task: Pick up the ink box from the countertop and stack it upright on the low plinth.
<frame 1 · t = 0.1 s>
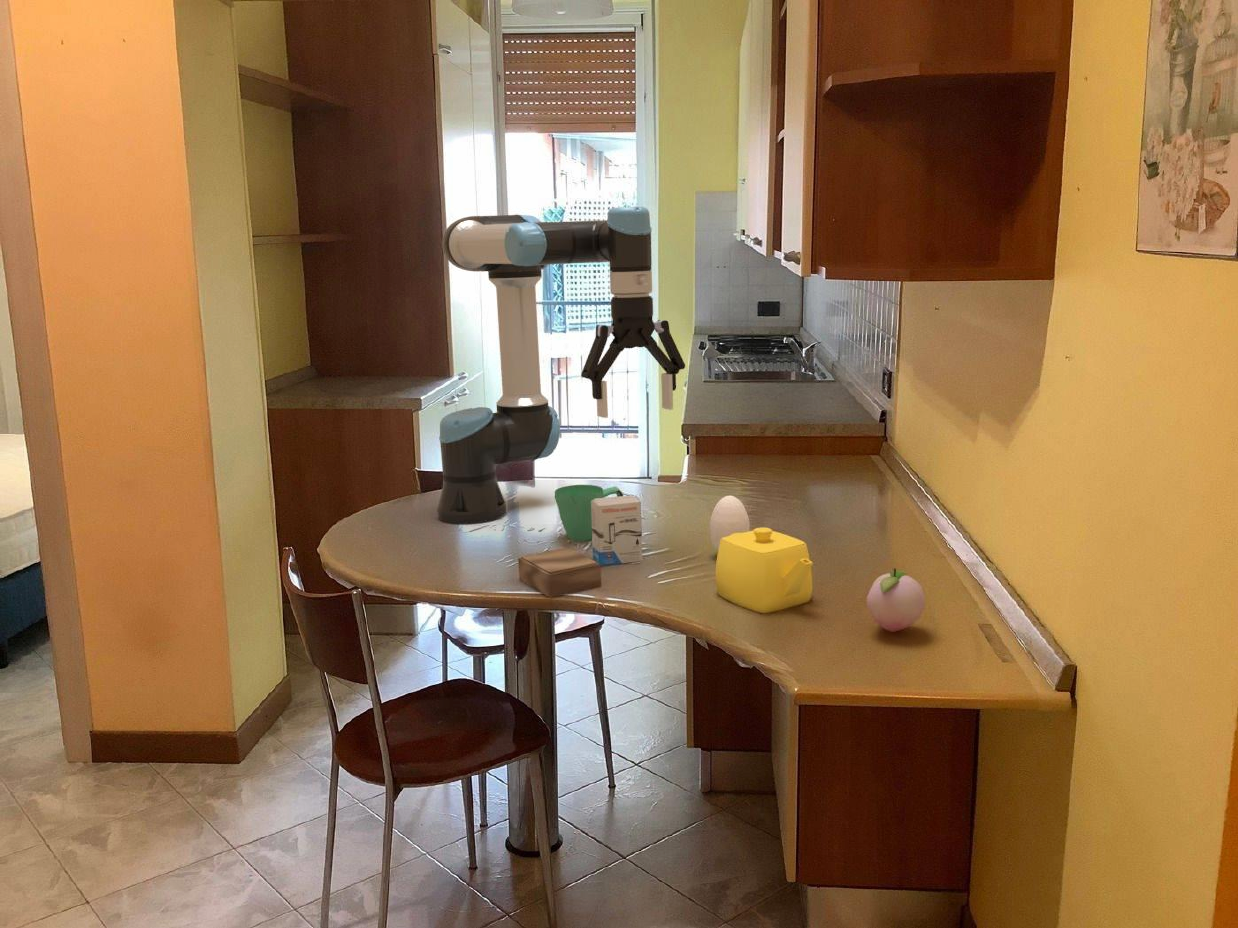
hand: (635, 412, 191), 28 cm above the counter, fingers open, 13 cm apart
teapot: (766, 599, 172), on the counter
mug: (591, 537, 212), on the counter
egg: (730, 557, 195), on the counter
plinth: (559, 582, 184), on the counter
decorative fruit: (895, 633, 156), on the counter
ink box: (617, 561, 196), on the counter
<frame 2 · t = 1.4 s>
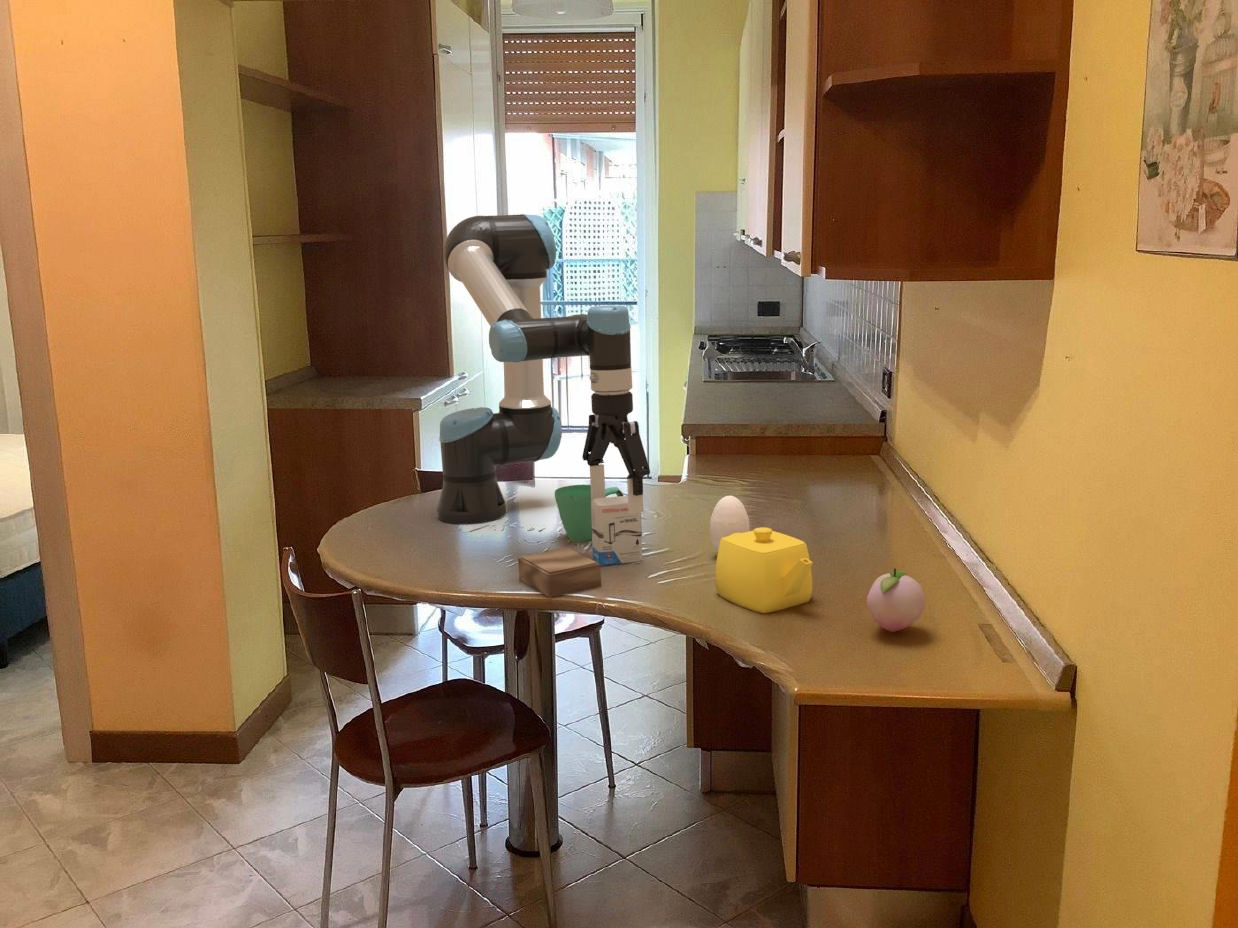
hand: (616, 505, 193), 11 cm above the counter, fingers open, 13 cm apart
nothing on the counter moved.
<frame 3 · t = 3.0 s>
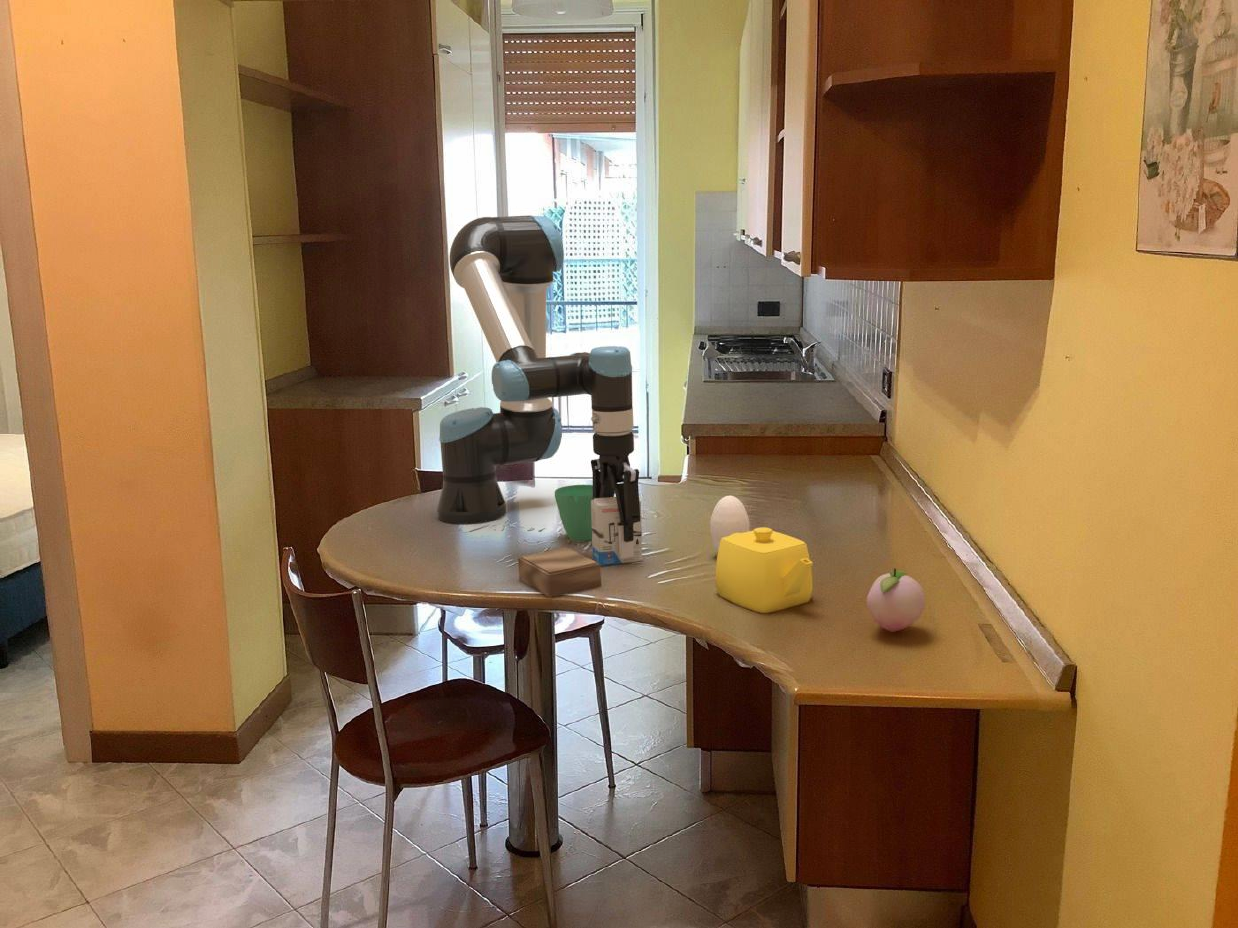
hand: (617, 552, 195), 1 cm above the counter, fingers closed on ink box, 6 cm apart
ink box: (617, 561, 195), on the counter, touching gripper
everything else where it was.
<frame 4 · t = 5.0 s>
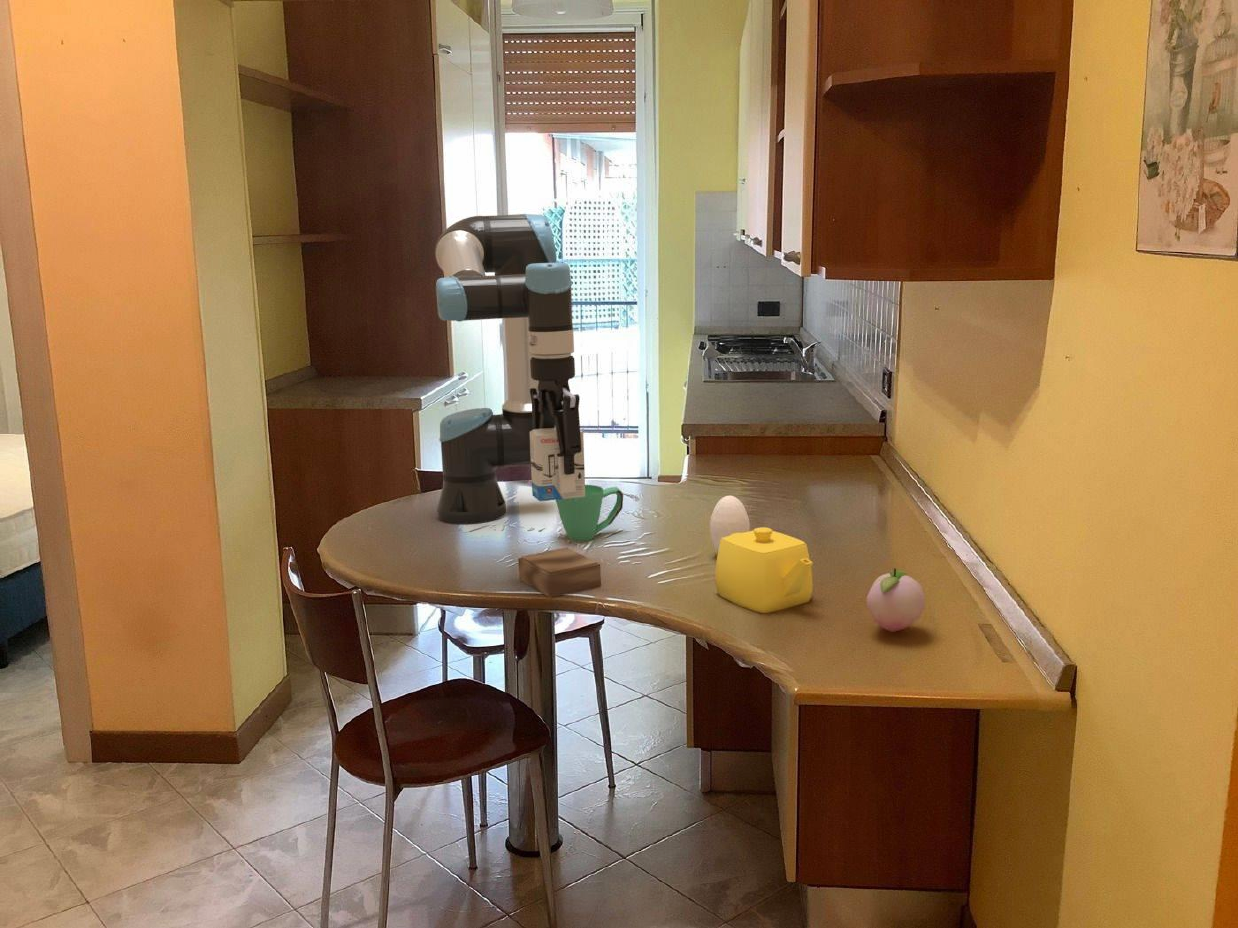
hand: (558, 488, 181), 17 cm above the counter, fingers closed on ink box, 6 cm apart
ink box: (559, 497, 181), point 15 cm above the counter, touching gripper
everything else where it was.
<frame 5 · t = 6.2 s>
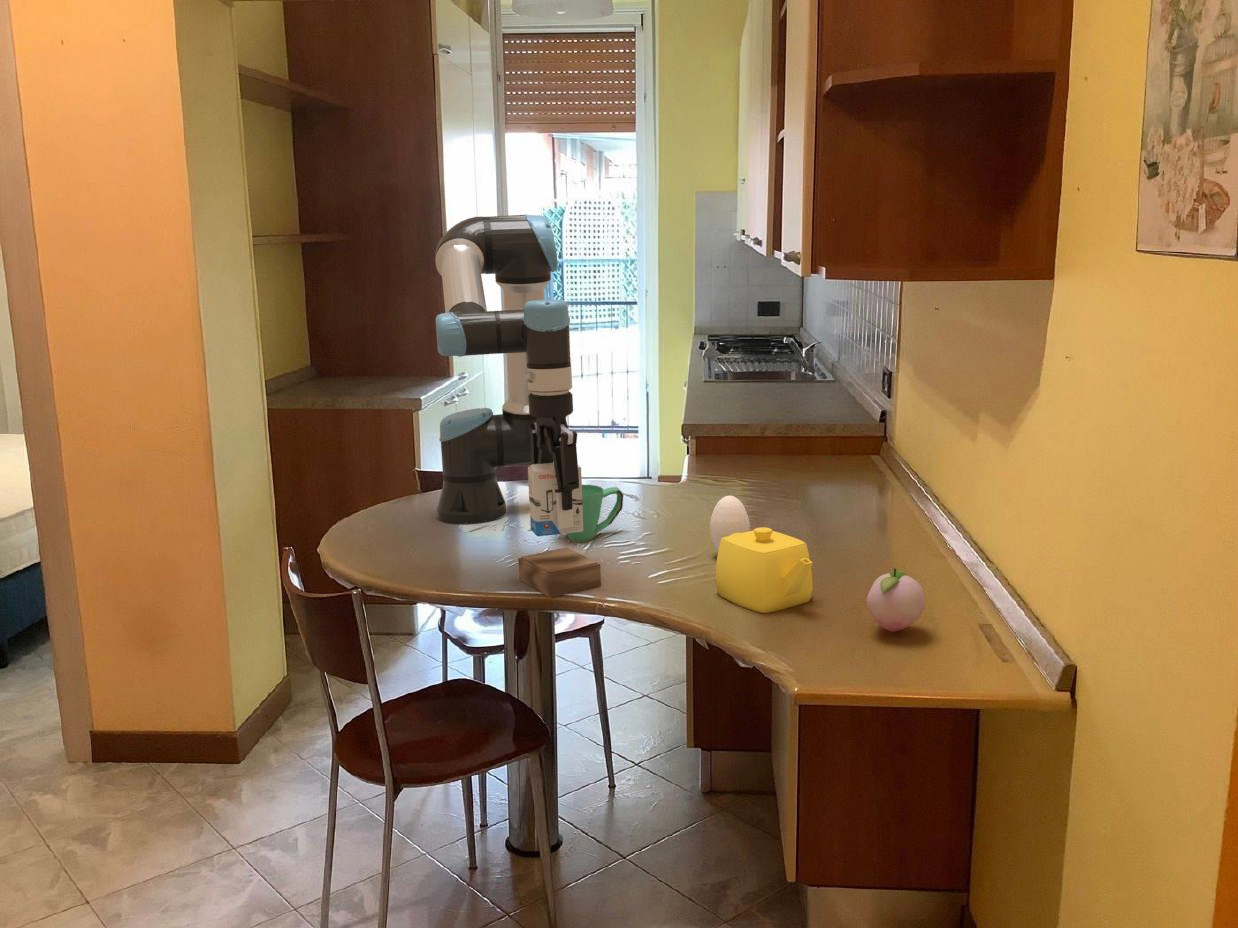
hand: (556, 523, 181), 11 cm above the counter, fingers closed on ink box, 6 cm apart
ink box: (557, 532, 182), point 9 cm above the counter, touching gripper
everything else where it was.
when the fingers open (6 cm above the counter, at t = 7.3 s): ink box stays where it is, resting on plinth.
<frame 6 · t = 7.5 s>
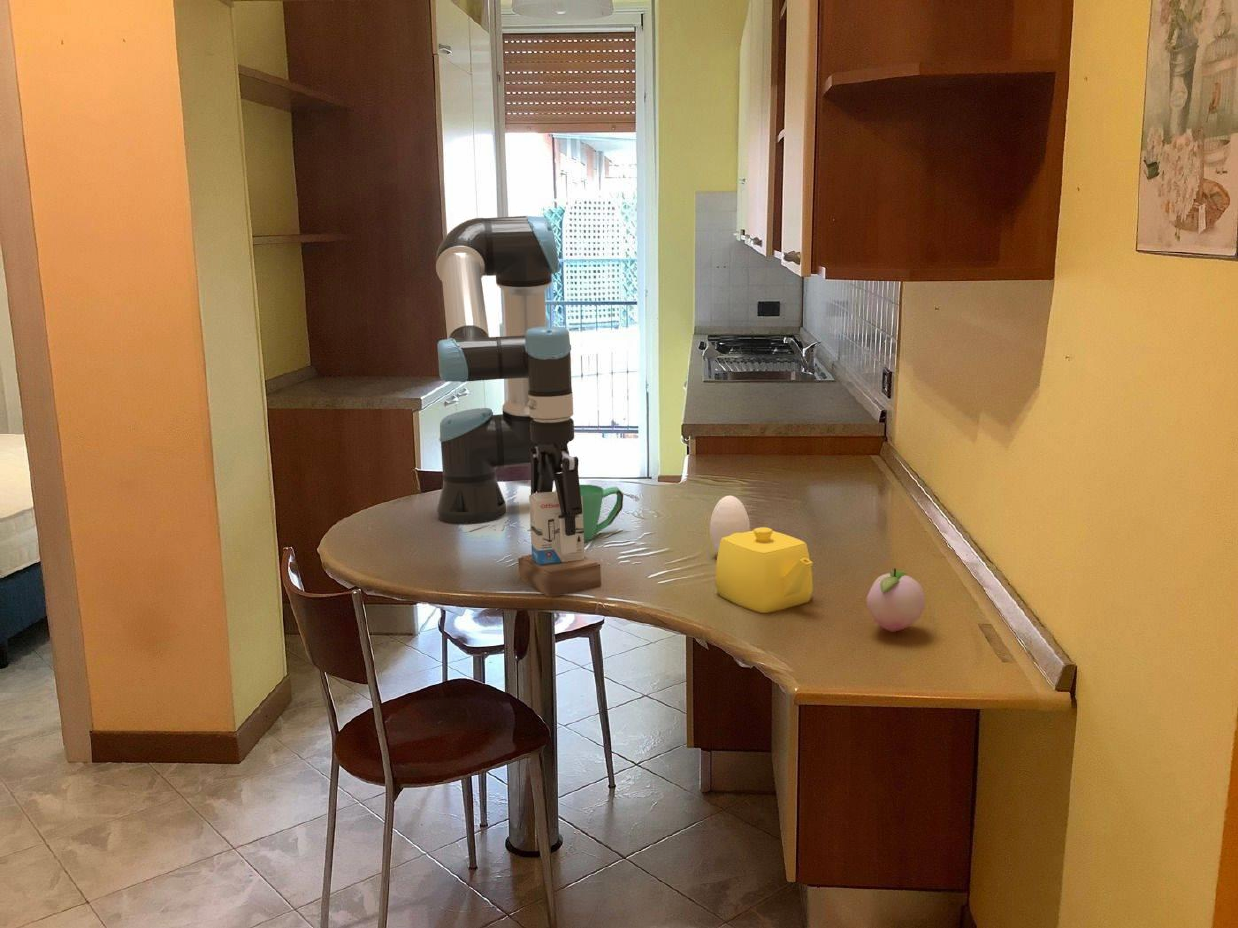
hand: (557, 546, 182), 7 cm above the counter, fingers open, 7 cm apart
ink box: (558, 560, 183), point 4 cm above the counter, touching plinth
everything else where it was.
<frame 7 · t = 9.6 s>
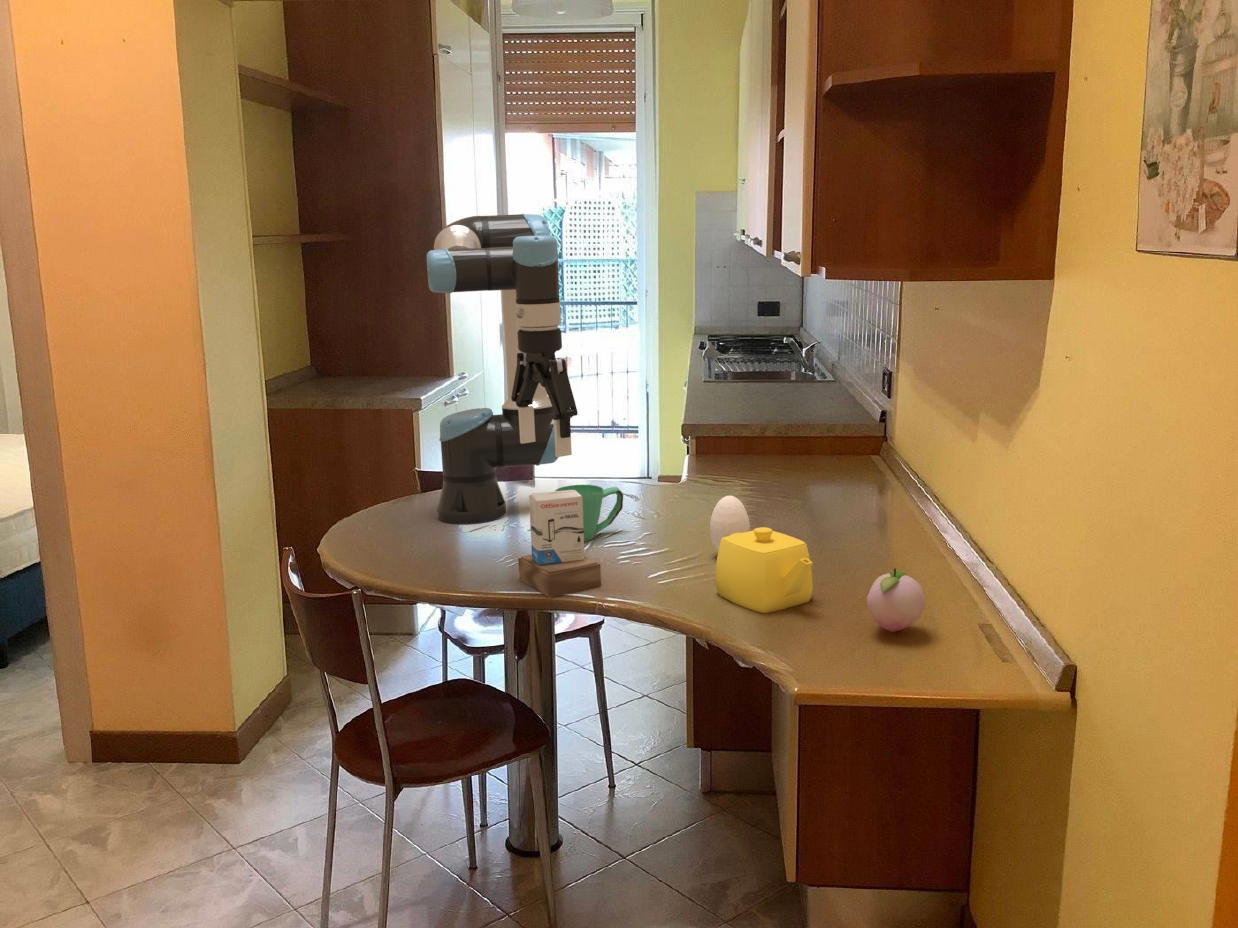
hand: (545, 449, 183), 23 cm above the counter, fingers open, 13 cm apart
nothing on the counter moved.
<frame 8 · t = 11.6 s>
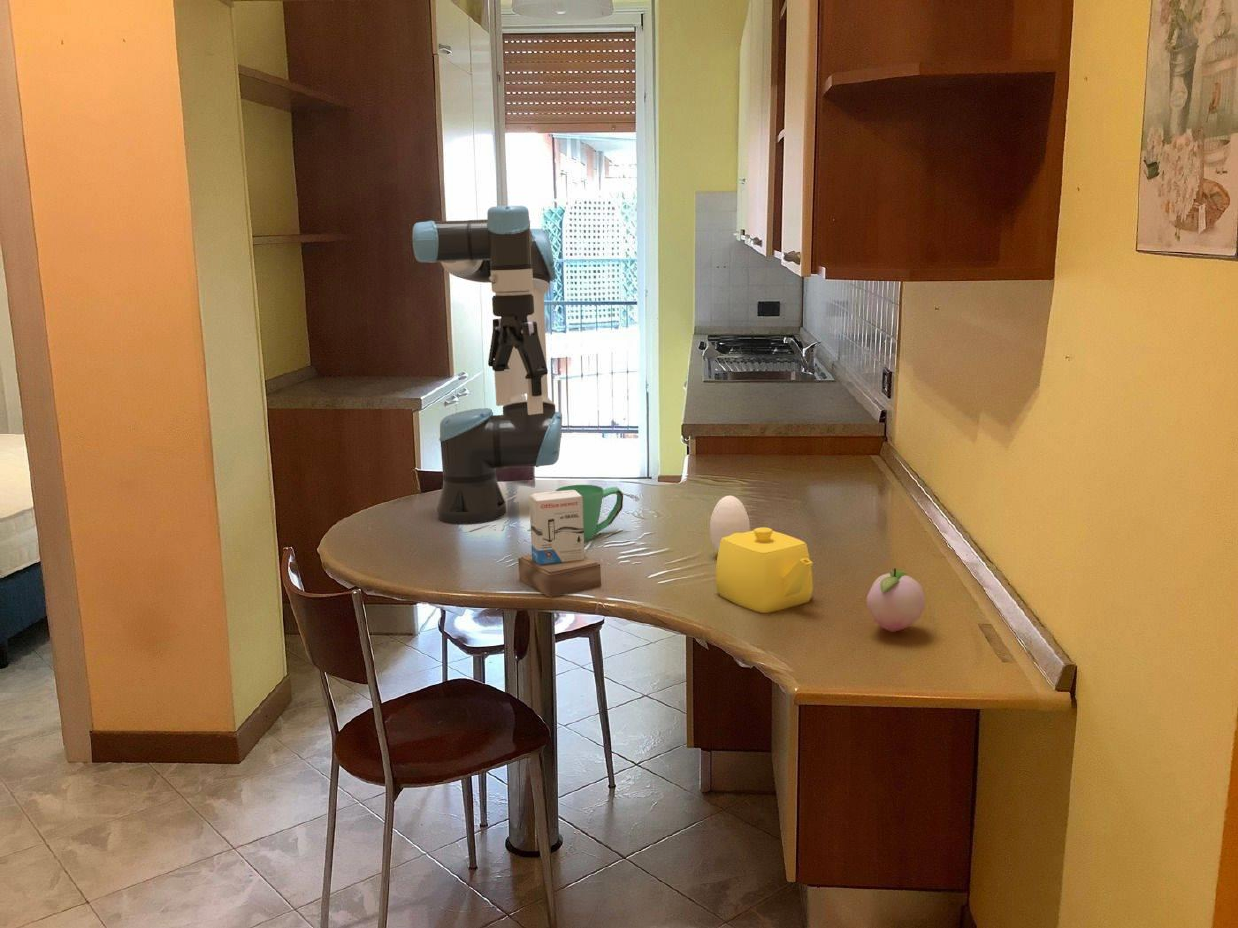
hand: (519, 409, 193), 29 cm above the counter, fingers open, 13 cm apart
nothing on the counter moved.
at the end: ink box inside the target area on the plinth (0.1 cm from its centre), point 4.1 cm above the plinth's base; ink box tilted 0°; the gripper is holding nothing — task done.
